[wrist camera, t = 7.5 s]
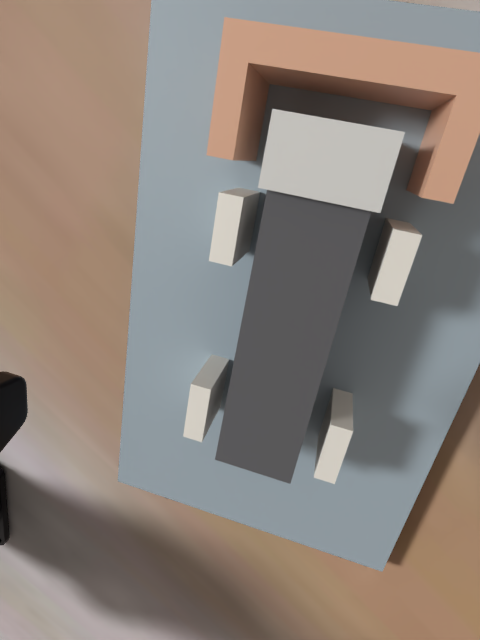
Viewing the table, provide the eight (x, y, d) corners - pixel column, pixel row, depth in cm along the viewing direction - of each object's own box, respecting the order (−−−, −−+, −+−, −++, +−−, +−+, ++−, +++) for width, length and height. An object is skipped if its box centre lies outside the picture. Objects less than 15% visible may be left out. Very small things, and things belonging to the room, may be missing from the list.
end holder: (430, 195, 13) (453, 204, 11) (234, 156, 15) (206, 155, 12) (469, 81, 12) (507, 56, 9) (251, 49, 13) (224, 16, 10)
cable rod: (303, 436, 18) (294, 493, 15) (230, 414, 19) (206, 465, 15) (391, 139, 13) (405, 132, 10) (289, 120, 14) (272, 108, 11)
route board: (381, 557, 20) (386, 627, 17) (125, 470, 23) (89, 519, 19) (617, 38, 12) (713, -5, 9) (164, -19, 14) (111, -71, 11)
